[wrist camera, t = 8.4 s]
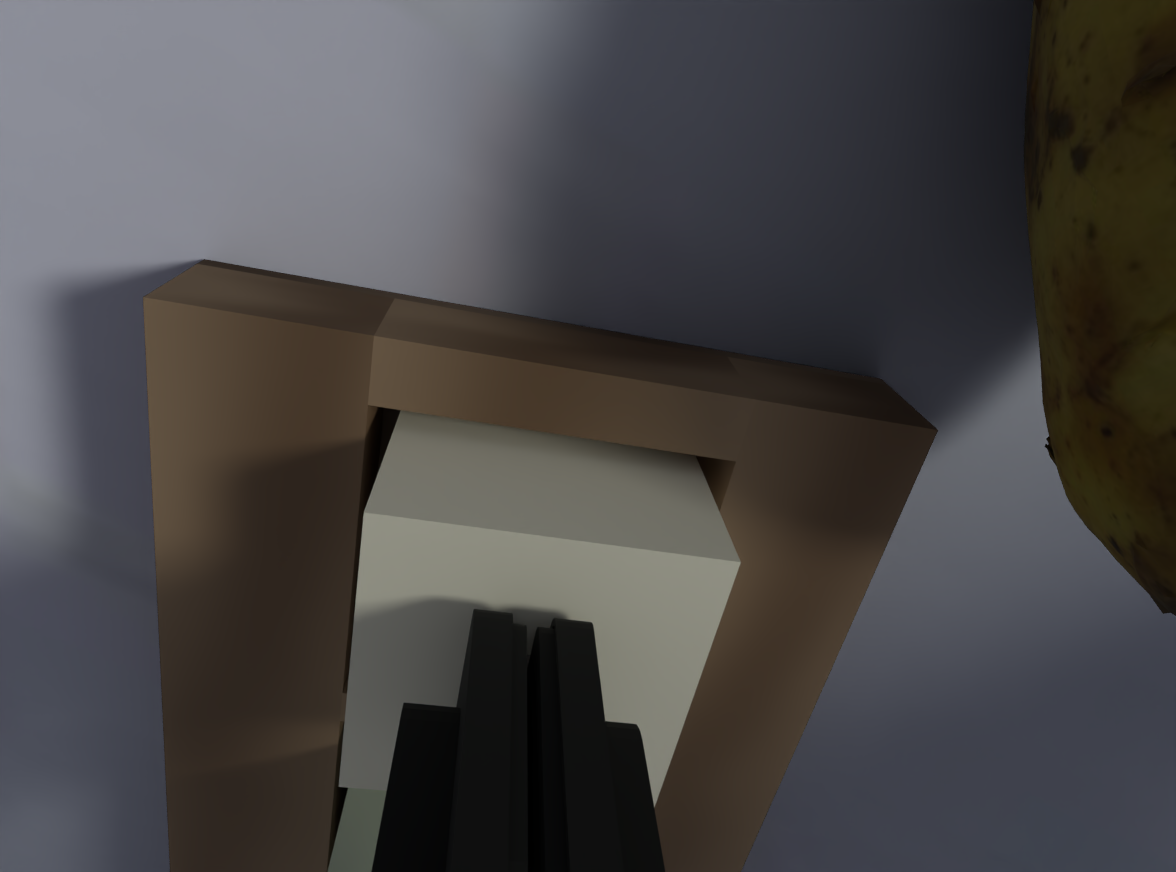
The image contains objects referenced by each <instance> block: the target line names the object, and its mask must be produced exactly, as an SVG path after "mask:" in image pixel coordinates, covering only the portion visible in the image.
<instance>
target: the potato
mask: <svg viewBox="0 0 1176 872" xmlns="http://www.w3.org/2000/svg"><path fill="white" fill-rule="evenodd" d="M1024 171H1025V193H1026V207H1027V221H1028V234H1029V244H1030V255H1031V265H1032V275H1033V286H1034V297H1035V308H1036V319H1037V326H1038V335H1039V347H1040V359H1041V377H1042V397H1043V406H1044V412H1045V417H1046V423H1047V428H1048V432H1049V437H1048V438H1047V441H1048V443H1049V444H1048V445H1047V444H1046V445H1045V447H1046V448H1047V449H1048V452H1049V455H1050V457H1051V459H1052V460H1053V462H1054V463H1055V464H1056V466H1057V469H1058V473H1059V476H1060V479H1061V481H1062V484H1063V487H1064V490H1065V493H1066V496H1067V498H1068V500H1069V501H1070V503H1071V505H1072V506H1073V508H1074V510H1075V511H1076V513H1077V514H1078V515H1079V517H1080V518H1081V520H1082V521H1083V522H1084V524H1085V525H1086V526H1087V528H1088V529H1089V530H1090V531H1091V532H1092V533H1093V534H1094V535H1095V536H1096V537H1097V538H1098V539H1099V540H1100V541H1101V542H1102V543H1103V545H1104V546H1105V547H1106V548H1107V549H1108V551H1109V552H1110V553H1111V554H1112V555H1113V557H1114V558H1115V559H1116V560H1117V561H1118V562H1119V563H1120V564H1121V565H1122V566H1123V567H1124V568H1125V570H1126V571H1127V572H1128V573H1129V574H1130V575H1131V576H1132V577H1133V578H1134V579H1135V580H1136V581H1137V582H1138V583H1139V584H1140V585H1141V586H1142V587H1143V588H1144V589H1145V590H1146V591H1147V592H1148V593H1149V595H1150V596H1151V597H1152V599H1153V600H1154V602H1155V603H1156V604H1157V606H1158V607H1159V609H1160V610H1161V611H1162V613H1163V614H1164V613H1172V614H1174V615H1175V616H1176V0H1034V2H1033V15H1032V28H1031V41H1030V54H1029V65H1028V77H1027V96H1026V110H1025V137H1024Z"/></svg>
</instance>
